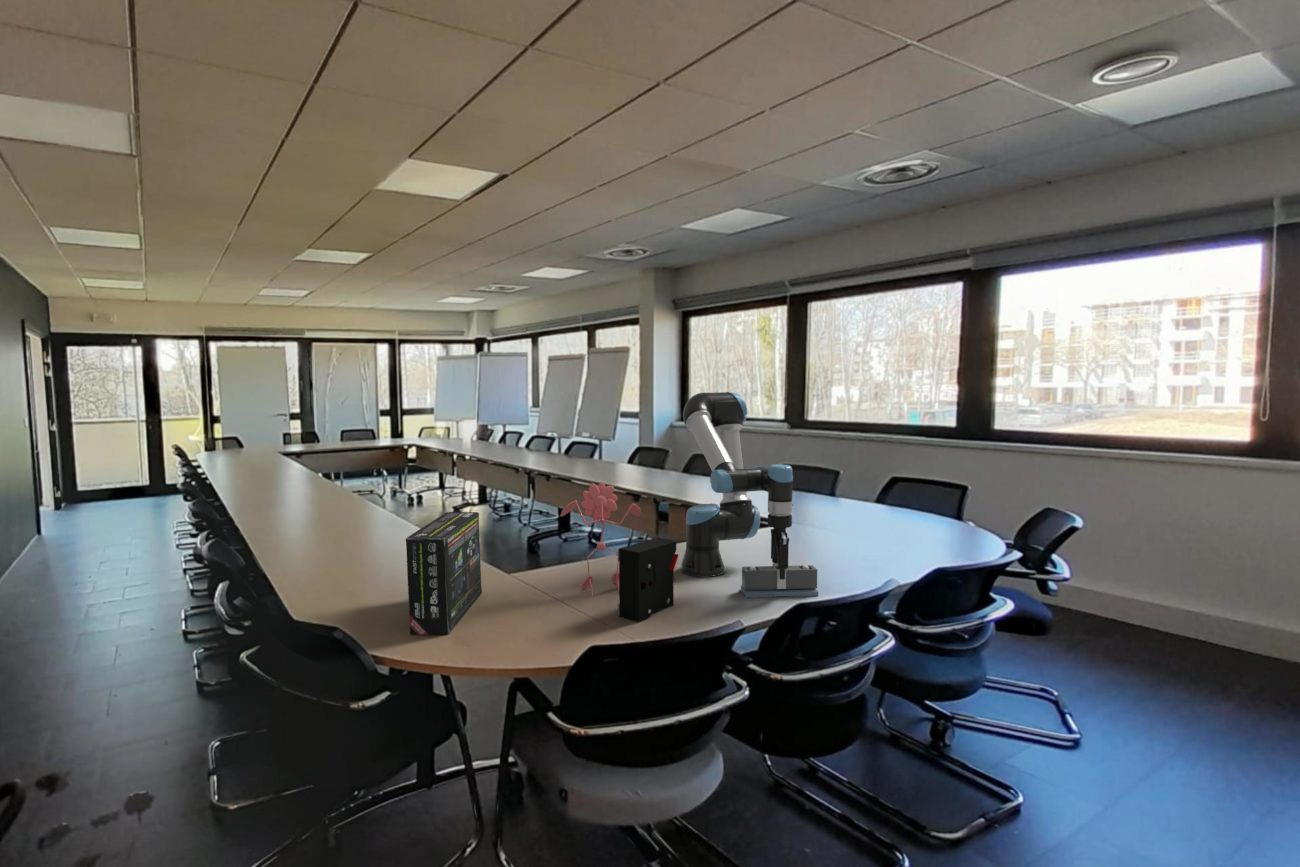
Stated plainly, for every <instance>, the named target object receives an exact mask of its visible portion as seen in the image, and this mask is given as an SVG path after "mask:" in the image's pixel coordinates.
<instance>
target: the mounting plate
mask: <svg viewBox="0 0 1300 867" xmlns="http://www.w3.org/2000/svg"><path fill="white" fill-rule="evenodd" d="M806 565H807V564H806ZM806 565H804V566H803V567H802V569H809V567H808V566H806ZM749 567H750V569H749V570H756V568H755V566H754V565H753V566H749ZM740 590H742V591H741V593H742V594H743V593H744V594H743V595H744V596H745V598H746V597H747V598H777V597H776V596H793V597H819V590H818V588H805V589H763V590H745V589H744V588H743V586H742V584H741V585H740ZM773 596H774V597H773Z"/></svg>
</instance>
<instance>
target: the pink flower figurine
mask: <svg viewBox="0 0 1300 867" xmlns="http://www.w3.org/2000/svg"><path fill="white" fill-rule="evenodd" d="M614 491H615V487H614V486H613V485H607V486H606V483H605V482H600V483H599V484H598V485H596V484H595V483H594V482H592V483H591V484H590V485H589V489H588V491H587V490H584V491H583V492H582V495H583V498H584V500H582V501H581V503H580V506H581V507H582V508H584V509H585V510H584V514H583V513H582V511H581V508H580V506H579V504H578V500H577V499H575V500H574V501H571V502H569V503H568V504H566V506H565V507H564V508H563V509H562V510H561V513H560V517H561V518H562V517H564V516H566V515H567V514H569V513H570V512H571V511H572V510H573V509H574V508H575V507H577V510H578V512H579V514H580V516H581V518H582V521H583V523H584V525H586V526H587V525H590V524H594V523H599V522H600V523H601V524H602V529H601V536H600V540H599V542H598V543H597V545H596V548H594V549H593V551H592V552H591V553H590V554H589V555H588V556H587V558H586V560H587V561H586V562H587V577H586V578H585V579H584V581H583V582H582V583H581V584H576V585H574V586H572V587H570V588H569V590H571V589H573V588H575V587H577V586H581V591H582V592H585V591H586V590H587V589H588V588H589V589H590V596H591V597H593V596H594V594H593V593H594V592H593V585H592V584H593V583H596V581H594V582H593V579H594V576H593V575H590V566H589V563H590V562H589V558H590V557H591V556H592V554H594V552H595V551H597V550H598V551H604V550H605V549H607V550H609V551H612V552H614V553H615V554H616V552H617V550H616V551H615V550H613V549H611V548H609V547H607V546H606V544H605V543H604V542H603V541H602V540H603V538H604V537H603V536H604V531H605V528H606V527H605V525H606V524H605V523H609V524H614V525H618V526H621V524H622V523H623V522H624V521H625V519H626V517H627V516H628V514H629V513H630V514H632V515H633V516H634V517H636V518H639V517H640V515H641V513H642V509H641V507H640V506H638V505H637V504H635V503H634V502H633V503H631V504H630V505H629V507H628V510H627V511H626V513H625V514H624V515H623V518H621V521H620V522H615V521H611V520H608V519H609V518H610V515H611V512H616V511H618V506H617V503H616V502H617V501H618V499H619V498H618V496H617V495H616V494H615V493H614ZM584 516H586V517H591V516H592V519H593V520H592V521H588V522H586V519H585V518H584ZM608 582H609V581H606V583H608ZM611 582H612V583H613V585H615V586H616V587H617V589H618V592H619V561H618V560H617V563H616V572H615V573H613V574H612V577H611Z"/></svg>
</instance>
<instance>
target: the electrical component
mask: <svg viewBox="0 0 1300 867" xmlns="http://www.w3.org/2000/svg"><path fill="white" fill-rule="evenodd" d="M676 552H677V541H675V540H674V539H670V538H669V539H668V538H663V537H654V538H650V539H647V540H643V541H640V542H636V543H633V544H630V545H627V546H626V545H625V546H623V547H620V548H617V550H616V553H615V555H616V557H617V561H619V563H618V573H619V591H618V593H619V596H618V597H619V599H618V600H619V603H618V604H617V605H616V610H617V612H618V616H619V618H622V619H626V620H629V621H631V622H636V623H642V622H643V621H645V620H647V619H650V618H651V617H652V615H655V614H657V613H659V612H661V611H664V610H667V609H669V608H670V607H673V606H674V578H675V577H674V574H675V573H674V571H675V567H676V564H677V561H678V558H679V554H677V553H676Z"/></svg>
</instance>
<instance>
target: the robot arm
mask: <svg viewBox="0 0 1300 867" xmlns="http://www.w3.org/2000/svg"><path fill="white" fill-rule="evenodd" d="M747 415H748V408H747V402H746V401H745V399H744V397H743V396H742V395H741V394H740V393H738V392H729V391H726V392H725V391H724V392H720V391H719V392H700V393H695V394H694V395H692V396H691V397H690V398H689V399H688V400H687V401H686V403H685V405H684V407H683V412H682V417H683V418H682V419H683V422H684V425H685V427H686V429H687V430H688V431H690V432H691V433H692V434H693V436H694V438H695V440H696V442H697V444H698V445H699V449H700V450H701V452H702V454H703V456H704V458H705V460H706V462H707V464H708V465H709V467H710V470H711V474H710V479H709V483H710V487H711V489H712V491H713V492H714V493H716V494H722V500H720V502H719V504H716V503H701V504H696V505H693V506H691V507H689V508H688V509H687V511H686V518H685V532H686V533H685V546H686V547H685V550H684V555H683V558H682V561H681V564H680V568H681V569H680V571H681V573H683V574H686V575H687V574H688V576H692V575H693V576H692V577H701V576H707V577H714V576H713V575H716V576H719V575H718V574H720V575H722V574H723V573H724V571H725V567H724V562H723V558H722V555H721V551H720V541H730V540H731V541H732V540H745V539H751V538H753V537H755V536H756V534H758V531H759V529H760V524H761V513H760V511H759V509H758V507H757V505H754V504H753V501H752V499H751V498H750V497H749V496H748V495H747V492H762V491H763V492H767V513H768V514H767V525H768V527H770V528H771V529H770V536H771V538H770V559H771V562H772V566H778V567H776V569H777V589H786V568H788V566H789V544H790V543H789V542H790V538H789V537H788V532H787V528H791V527H792V526H793V516H792V512H793V507H794V505H795V504H794V503H793V486H794V475H793V468H792V466H791V465H789V464H770V465H769V466H768V467H767V466H758V465H757V466H754V467H753V468H752V467H751V468H750V467H749V468H744V461H743V454H742V444H741V435H740V431H741V429H743V426H744V425H743V424H744V423H745V422H746V420H747V418H748V416H747ZM721 573H722V574H721Z"/></svg>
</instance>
